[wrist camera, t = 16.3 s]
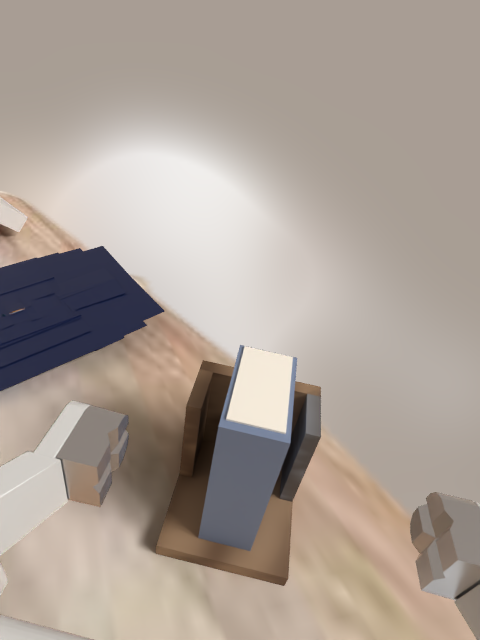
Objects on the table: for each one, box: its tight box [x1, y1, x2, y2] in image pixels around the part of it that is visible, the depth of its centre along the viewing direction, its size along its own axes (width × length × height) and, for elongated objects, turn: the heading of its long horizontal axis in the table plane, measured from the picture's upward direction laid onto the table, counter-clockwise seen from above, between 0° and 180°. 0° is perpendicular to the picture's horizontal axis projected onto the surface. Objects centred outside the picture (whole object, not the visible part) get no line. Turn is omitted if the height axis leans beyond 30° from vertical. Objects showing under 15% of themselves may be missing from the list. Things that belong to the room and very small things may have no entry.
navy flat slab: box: [0, 246, 164, 391], centre depth 52 cm, size 24×30×4 cm
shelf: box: [156, 360, 321, 586], centre depth 34 cm, size 11×12×12 cm
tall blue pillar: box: [198, 345, 297, 551], centre depth 31 cm, size 4×8×15 cm, turn 170°
